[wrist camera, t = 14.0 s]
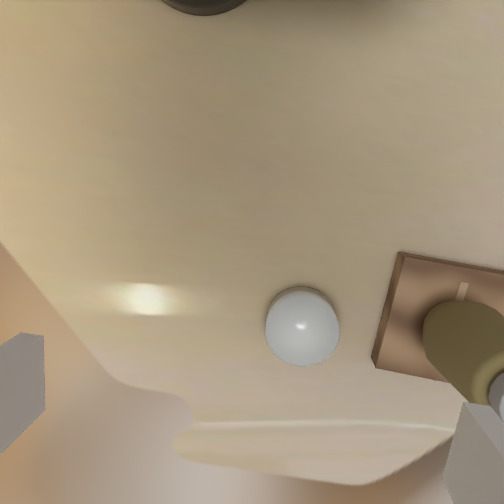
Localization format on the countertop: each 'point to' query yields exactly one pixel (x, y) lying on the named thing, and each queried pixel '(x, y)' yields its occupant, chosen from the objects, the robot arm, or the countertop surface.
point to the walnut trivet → (427, 307)
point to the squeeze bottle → (468, 350)
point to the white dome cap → (301, 327)
